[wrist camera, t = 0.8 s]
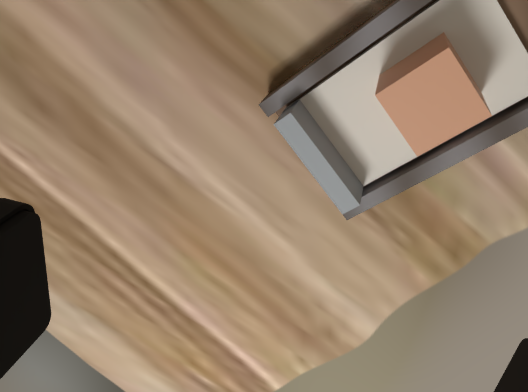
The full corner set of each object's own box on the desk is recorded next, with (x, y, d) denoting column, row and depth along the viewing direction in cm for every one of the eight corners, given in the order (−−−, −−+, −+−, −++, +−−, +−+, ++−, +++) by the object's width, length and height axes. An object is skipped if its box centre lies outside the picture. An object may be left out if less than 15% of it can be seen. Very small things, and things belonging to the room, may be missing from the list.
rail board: (658, -197, 25) (684, -210, 23) (742, -6, 28) (773, -1, 26) (267, 94, 39) (258, 104, 37) (350, 204, 42) (347, 220, 39)
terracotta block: (443, 32, 32) (448, 47, 27) (481, 92, 33) (491, 115, 29) (379, 75, 34) (374, 95, 30) (416, 130, 35) (417, 156, 31)
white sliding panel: (478, -30, 30) (487, -25, 27) (544, 82, 32) (559, 100, 29) (285, 107, 38) (273, 124, 35) (348, 190, 40) (342, 214, 37)
